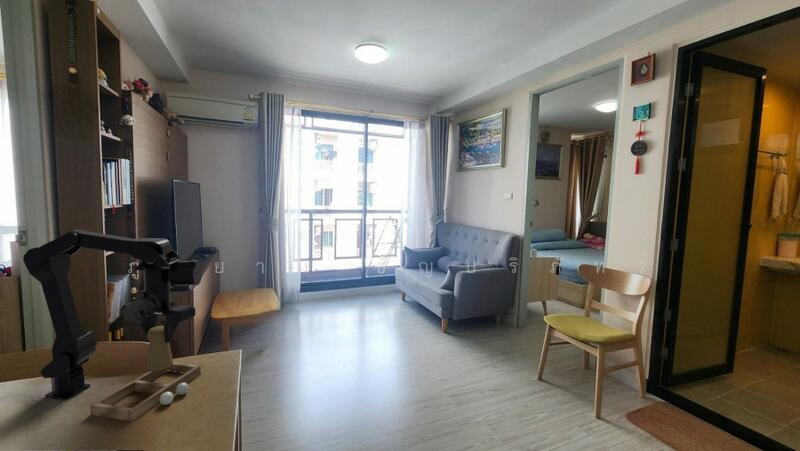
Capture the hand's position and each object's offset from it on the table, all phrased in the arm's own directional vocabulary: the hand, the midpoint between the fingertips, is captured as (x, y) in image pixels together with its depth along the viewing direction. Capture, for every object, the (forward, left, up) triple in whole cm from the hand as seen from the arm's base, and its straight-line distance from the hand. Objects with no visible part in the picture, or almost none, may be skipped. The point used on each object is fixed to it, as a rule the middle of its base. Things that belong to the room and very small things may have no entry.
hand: (159, 341), depth 94 cm
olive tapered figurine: (0, 0, -7) cm, 7 cm away
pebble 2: (+8, -2, -13) cm, 16 cm away
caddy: (0, -3, -13) cm, 13 cm away
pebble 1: (+8, -6, -13) cm, 16 cm away
